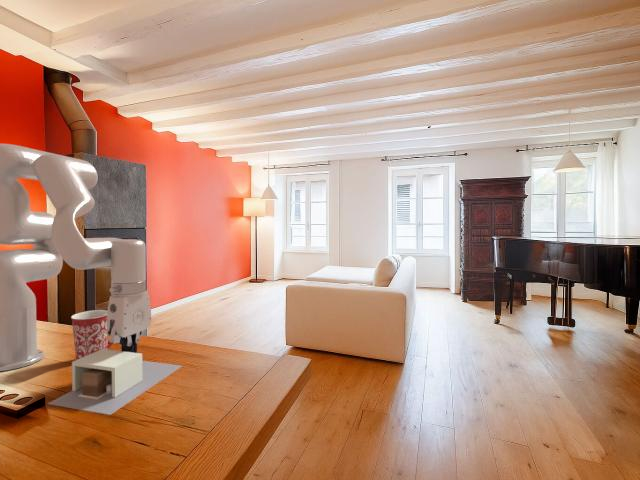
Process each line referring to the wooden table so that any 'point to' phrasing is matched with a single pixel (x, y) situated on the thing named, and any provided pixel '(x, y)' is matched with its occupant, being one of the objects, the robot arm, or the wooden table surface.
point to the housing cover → (110, 368)
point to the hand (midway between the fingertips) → (129, 359)
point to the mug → (90, 332)
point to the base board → (110, 404)
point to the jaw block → (95, 382)
